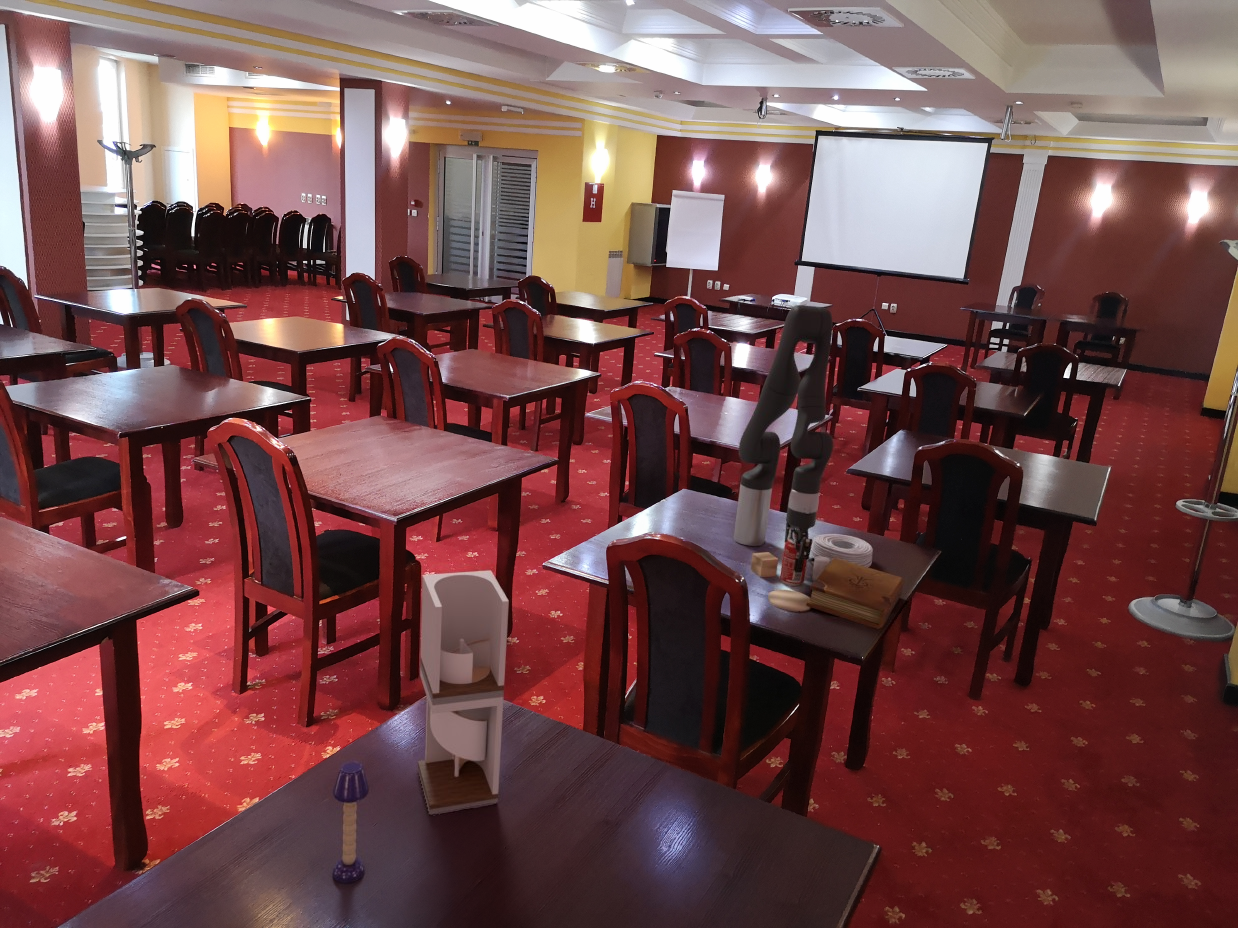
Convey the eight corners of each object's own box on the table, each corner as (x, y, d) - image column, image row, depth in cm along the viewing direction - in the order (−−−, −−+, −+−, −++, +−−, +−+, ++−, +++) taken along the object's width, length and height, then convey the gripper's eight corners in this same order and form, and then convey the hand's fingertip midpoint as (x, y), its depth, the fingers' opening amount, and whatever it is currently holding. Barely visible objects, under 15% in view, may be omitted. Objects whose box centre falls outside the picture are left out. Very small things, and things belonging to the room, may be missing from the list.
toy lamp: (337, 858, 126) (336, 756, 122) (370, 858, 127) (371, 757, 122) (329, 883, 122) (328, 778, 117) (364, 883, 122) (365, 778, 118)
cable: (805, 565, 250) (808, 545, 249) (812, 545, 266) (815, 526, 265) (869, 577, 245) (872, 557, 244) (872, 556, 261) (876, 537, 260)
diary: (881, 630, 213) (886, 609, 212) (806, 606, 221) (810, 585, 220) (900, 597, 233) (905, 577, 231) (830, 576, 241) (834, 556, 239)
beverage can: (802, 579, 240) (808, 537, 236) (804, 588, 234) (811, 545, 230) (778, 576, 240) (784, 534, 237) (780, 585, 234) (786, 543, 231)
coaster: (762, 592, 229) (763, 589, 229) (803, 592, 231) (803, 590, 231) (775, 611, 219) (776, 608, 218) (818, 611, 220) (819, 608, 220)
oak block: (750, 570, 243) (752, 553, 241) (766, 569, 245) (768, 552, 243) (760, 577, 238) (762, 560, 237) (775, 576, 240) (778, 559, 239)
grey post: (810, 576, 242) (813, 555, 240) (824, 577, 242) (827, 556, 241) (813, 582, 238) (816, 561, 237) (828, 583, 238) (831, 562, 237)
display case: (417, 771, 147) (422, 574, 137) (481, 762, 151) (490, 570, 141) (429, 815, 137) (435, 606, 127) (497, 804, 140) (508, 601, 131)
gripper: (780, 497, 237) (771, 556, 242) (798, 515, 223) (789, 577, 228) (807, 498, 238) (798, 556, 243) (826, 516, 225) (816, 578, 229)
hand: (793, 566), depth 236 cm, fingers closed on beverage can, 6 cm apart
